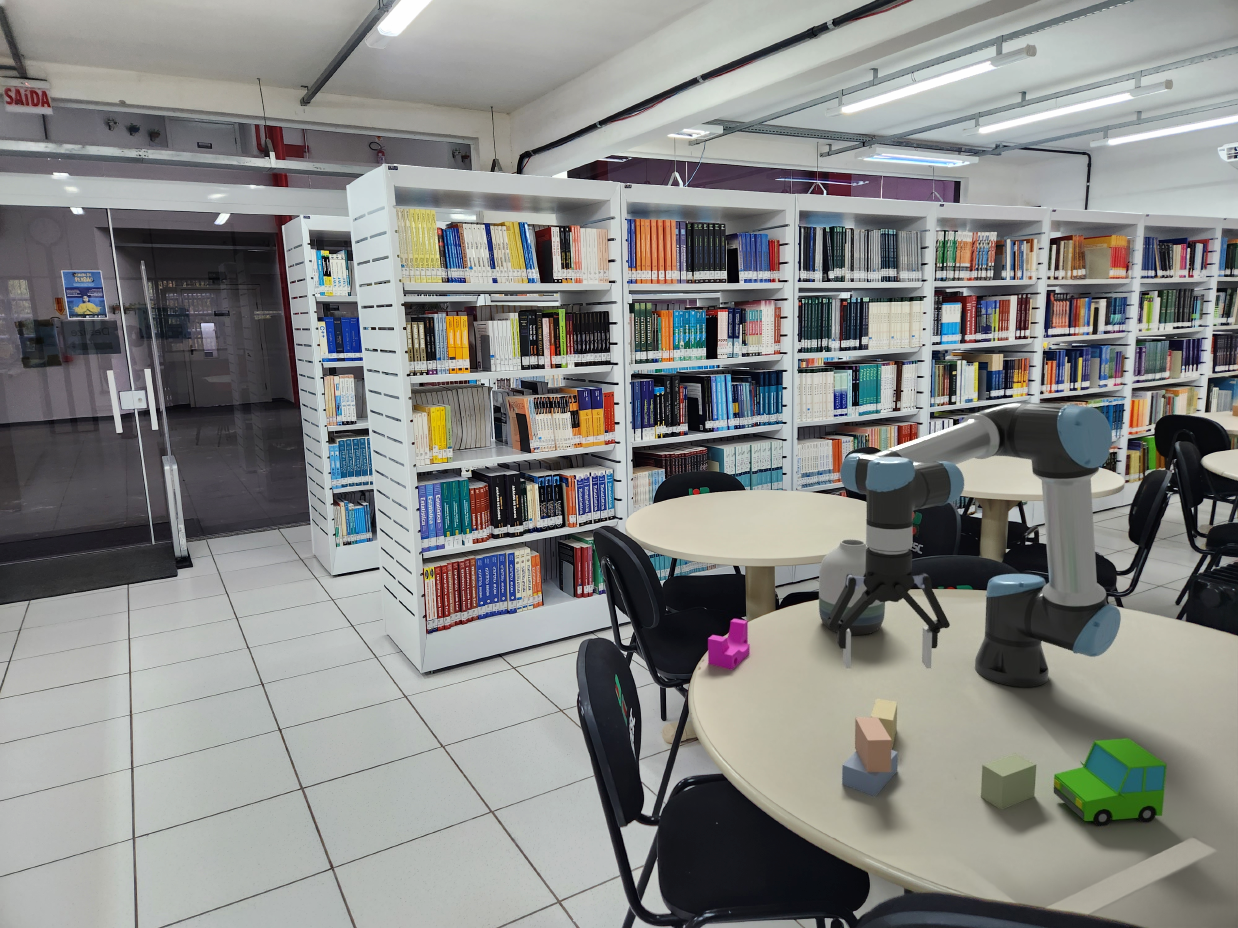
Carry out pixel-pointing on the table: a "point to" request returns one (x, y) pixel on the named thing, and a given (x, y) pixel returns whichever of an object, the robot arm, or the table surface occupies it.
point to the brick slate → (866, 775)
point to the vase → (833, 582)
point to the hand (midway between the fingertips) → (886, 665)
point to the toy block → (729, 646)
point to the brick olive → (1008, 780)
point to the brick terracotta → (873, 744)
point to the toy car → (1114, 783)
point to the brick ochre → (886, 716)
